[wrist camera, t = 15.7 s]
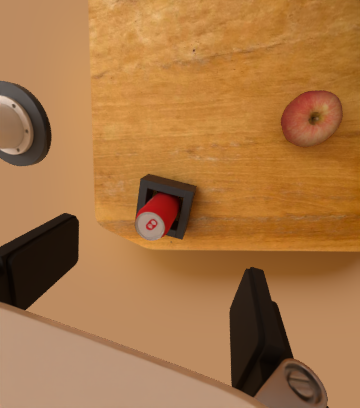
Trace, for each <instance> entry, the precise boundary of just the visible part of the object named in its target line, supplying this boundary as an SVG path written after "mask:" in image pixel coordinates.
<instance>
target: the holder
mask: <svg viewBox="0 0 360 408" xmlns="http://www.w3.org/2000/svg"><path fill="white" fill-rule="evenodd" d="M196 187H197V186H194V185H190V184H186V183H182V182H178V181H174V180H170V179H166V178H162V177H158V176H154V175H150V174H148V175H146V176H145V177H143V178H141V181H140V188H139V196H138V204H137V212H136V216H137V213H138V212H139V210H140V209H141V208H143V207H144V206H145V205H146V204H147V203H148V202H149V201H150V200H151V199H152V195H153V190H156V191H160V192H163V193H167V194H171V195H175V196H179V197H183V198H184V200H183V204H182V209H181V213H180V218H179V221H175V220H174V222H173V223H172V225H171V227H170V229H169V231H168V233H167V234H166V235H168V236H171V237H175V238H178V239H183V237H184V234H185V231H186V228H187V224H188V220H189V216H190V212H191V208H192V203H193V199H194V195H195V191H196ZM135 221H136V219H135Z"/></svg>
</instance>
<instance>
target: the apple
mask: <svg viewBox="0 0 360 408" xmlns="http://www.w3.org/2000/svg"><path fill="white" fill-rule="evenodd" d="M341 120H342V105H341V102H340V100H339V98H338V97H337V96H336V95H335V94H333V93H331V92H328V91H309V92H305V93H303V94H301V95H299V96H298V97H297V98H295V99H294V100H293V101H292V102H291V103H290V104H289V105H288V106H287V107H286V109H285V110H284V113H283V115H282V118H281V126H282V130H283V133H284V135H285V137H286V139H287V140H288V141H289V142H291V143H293V144H295V145H297V146H301V147H309V146H314V145H317V144H319V143H322V142H323V141H325V140H326V139H328V138H329V137H330V136H331V135H332V134H333V133H334V132H335V131H336V130H337V128H338V126H339V124H340V122H341Z"/></svg>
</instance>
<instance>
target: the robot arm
mask: <svg viewBox="0 0 360 408" xmlns="http://www.w3.org/2000/svg"><path fill="white" fill-rule="evenodd" d="M33 136H34V135H33V126H32V123H31V120H30V118H29V116H28V114H27V112H26V111H25V109H24V108H23V107H22V106H21V105H20V104H19V103H18V102H17V101H15V100H14V99H12V98H10V97H7V96H1V95H0V150H2V151H3V152H5V153H8V154H13V155H15V154H22V153H24V152H26V151H27V150H28V149H29V148H30V147H31V145H32V142H33ZM78 244H79V221H78V219H77V218H76V216H74V215H71V214H67V213H64V214H62V215H60V216H58V217H56V218H54V219H52V220H50V221H48V222H46V223H44V224H43V225H41V226H39V227H37V228H35V229H33V230H31V231H29V232H27V233H26V234H24V235H22V236H20V237H18V238H16V239H14V240H13V241H11V242H8V243H7V244H5V245H3V246H1V247H0V408H329V407H328V406H327V401H328V398H327V393H326V390H325V388H324V386H323V384H322V382H321V381H320V379H319V378H318V376H317V375H316V374H315V373H314V372H313V371H312V370H311V369H310V368H309V367H308V366H306V365H305V364H304V363H302V362H300V361H298V360H296V359H294V358H293V354H292V352H291V348H290V345H289V341H288V338H287V335H286V332H285V328H284V325H283V322H282V318H281V315H280V312H279V308H278V305H277V304H276V303H275V302H273V301H272V300H271V296H270V293H269V289H268V285H267V282H266V278H265V275H264V271H263V270H261V269H257V268H254V267H251V268H250V269H246V270H245V272H244V275H243V277H242V280H241V282H240V285H239V287H238V290H237V292H236V295H235V297H234V300H233V302H232V305H231V308H230V347H231V381H232V387H231V386H229V385H226V384H224V383H222V382H220V381H217V380H215V379H212V378H210V377H207V376H204V375H202V374H199V373H197V372H194V371H191V370H189V369H186V368H184V367H181V366H178V365H176V364H173V363H170V362H167V361H164V360H162V359H159V358H156V357H154V356H151V355H148V354H146V353H143V352H140V351H137V350H134V349H132V348H129V347H126V346H123V345H120V344H118V343H115V342H112V341H110V340H107V339H104V338H101V337H99V336H96V335H93V334H90V333H87V332H85V331H81V330H79V329H76V328H73V327H70V326H68V325H65V324H62V323H59V322H56V321H54V320H51V319H48V318H45V317H42V316H39V315H36V314H33V313H31V312H28V311H25V310H26V309H27V308H28V307H30V306H31V305H32V304H33V303H34V302H35V301H36V300H37V299H38V298H39V297H41V296H42V295H43V294H44V293H45V292H46V291H47V290H48V289H49V288H50V287H51V286H53V285H54V284H55V283H56V282H57V281H58V280H59V279H60V278H61V277H62V276H63V275H64V274H66V273H67V272H68V271H69V270H70V269H71V268H72V267H73V266H74V265H75V264H76V263H77V261H78Z"/></svg>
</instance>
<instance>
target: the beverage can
mask: <svg viewBox="0 0 360 408" xmlns="http://www.w3.org/2000/svg"><path fill="white" fill-rule="evenodd" d="M180 207H181V203H180V199H179V197H178V196H175V195H171V194H167V193H163V192H158V193H157V194H156V195H155V196H154V197H153V198H152V199H151V200H150V201H149V202H148V203H147V204H146V205H145V206H144V207H143V208H141V209H140V210H139V212H138V213H137V216H136V221H135V228H136V231H137V232H138V234H139V235H140V236H141V237H143V238H144V239H147V240H157V239H159V238H161V237H163V236H165V235H166V234H167V233H168V231H169V229H170V227H171V225H172V223H173V222H174V220H175V218H176V216H177V214H178V212H179V210H180Z"/></svg>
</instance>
